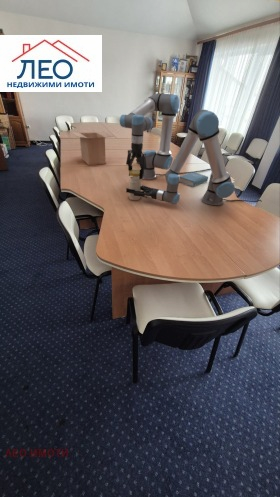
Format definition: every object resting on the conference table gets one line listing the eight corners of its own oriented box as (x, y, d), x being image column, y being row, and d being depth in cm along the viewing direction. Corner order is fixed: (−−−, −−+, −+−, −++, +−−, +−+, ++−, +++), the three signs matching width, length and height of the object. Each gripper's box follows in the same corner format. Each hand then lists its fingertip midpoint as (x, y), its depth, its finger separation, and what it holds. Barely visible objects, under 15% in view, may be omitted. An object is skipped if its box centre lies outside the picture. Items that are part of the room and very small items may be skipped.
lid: (144, 175, 156) (144, 172, 155) (135, 177, 151) (135, 174, 150) (135, 171, 161) (135, 168, 160) (126, 174, 156) (126, 171, 155)
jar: (127, 199, 164) (128, 179, 155) (130, 195, 170) (131, 175, 161) (138, 201, 162) (139, 180, 153) (141, 196, 169) (142, 177, 160)
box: (116, 165, 229) (116, 136, 213) (83, 168, 214) (80, 137, 198) (102, 154, 259) (101, 128, 243) (71, 156, 244) (68, 129, 228)
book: (192, 177, 214) (193, 171, 211) (207, 182, 205) (208, 176, 202) (178, 181, 200) (179, 176, 197) (193, 187, 192) (194, 181, 189)
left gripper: (120, 140, 146) (120, 174, 160) (147, 146, 136) (144, 182, 150) (128, 139, 151) (127, 172, 165) (153, 144, 141) (150, 179, 155)
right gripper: (152, 205, 152) (122, 198, 158) (161, 194, 167) (134, 188, 174) (153, 194, 147) (122, 187, 154) (163, 184, 163) (135, 179, 169)
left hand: (135, 177), depth 157 cm, fingers closed on lid, 9 cm apart
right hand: (129, 188), depth 164 cm, fingers closed on jar, 8 cm apart
